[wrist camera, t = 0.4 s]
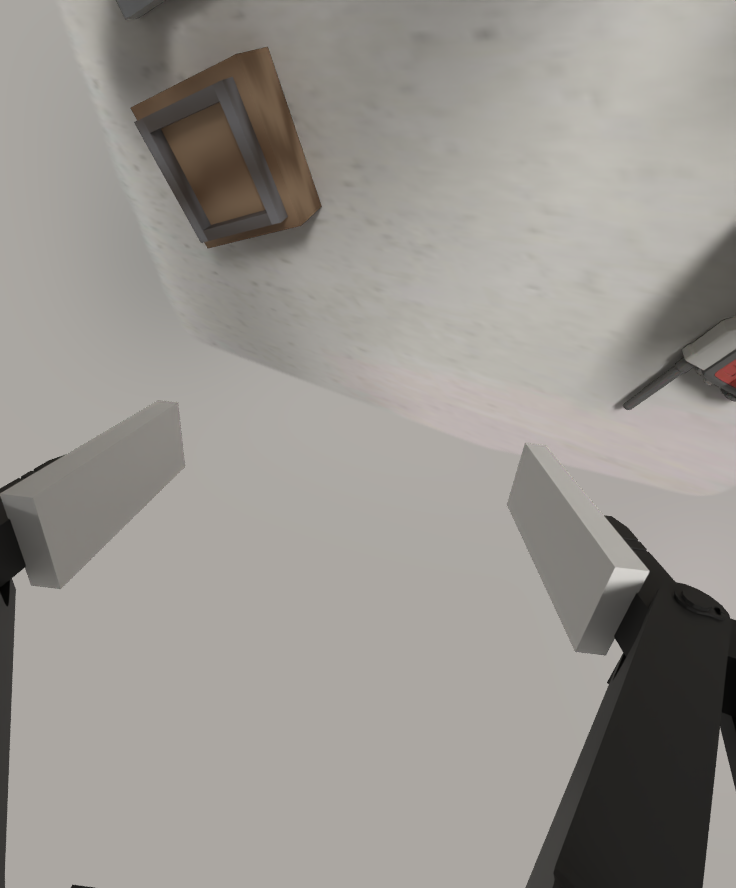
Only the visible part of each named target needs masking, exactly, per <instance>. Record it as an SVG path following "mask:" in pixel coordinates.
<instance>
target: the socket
mask: <svg viewBox="0 0 736 888" xmlns="http://www.w3.org/2000/svg"><path fill="white" fill-rule="evenodd" d="M116 1H117V3H118V5H119V7H120V9H121V11H122V13H123V15H124V17H125V19H136V18H139V17H141V16H142V15H144V14H145V13H147V12H148V11H150V10H151V9H153V8H154V7H156V6H158V5H159V4H161V3H162V2H164V1H165V0H116Z"/></svg>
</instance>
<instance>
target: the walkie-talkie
mask: <svg viewBox="0 0 736 888" xmlns="http://www.w3.org/2000/svg"><path fill="white" fill-rule="evenodd" d="M682 352H683V355H684V358H682V359H681V360H680V361H678V362H677V363H676V364H675V366H674V367H673V368H671V369H670V370H668V371H667V372H666V373H664V374H663V375H662V376H660V377H659V378H657V379H656V380H655V381H653V382H652V383H651V384H649V385H648V386H646V387H645V388H644V389H643V390H642V391H641V392H639V393H638V394H637V395H635V396H634V397H633V398H631V399H630V400H629V401H627V402H626V403H625V404H624V405H623V406H624V408H625V409H626V410H631V409H632V408H634V407H635V406H637V405H638V404H640V403H641V402H642V401H644V400H645V399H647V398H648V397H650V396H651V395H652V394H654V393H655V392H657V391H658V390H660V389H661V388H662V387H664V386H665V385H667V384H668V383H669V382H671V381H672V380H674V379H675V378H677V377H678V376H679V375H681V374H682V373H686V372H688V371H689V370H690V369H692V368H693V367H695V366H696V367H698V368H696V369H695V371H696V372H697V373H698V374H699V375H703V377H704V378H705V379H704V382H705V383H706V384H707V385H709V386H710V385H712V384H714V385H716V386H718V387H720V389H721V392H722V393H723V394H724V395H725V396H726V397H727V398H728V399H730V400H731V401H736V317H732V318H728V319H725V320H723V321H722V322H720V323H719V324H718V325H716V326H715V327H714V328H712V329H711V330H710V331H708V332H707V333H705V334H704V335H703V336H701V337H700V338H699V339H697V340H696V341H695V342H693V343H692V344H689V345H687V346H686V347H685V348H683V349H682Z"/></svg>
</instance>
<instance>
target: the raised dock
mask: <svg viewBox="0 0 736 888" xmlns="http://www.w3.org/2000/svg"><path fill="white" fill-rule="evenodd" d="M131 110H132V112H133V113H134V115H135V117H136V119H137V121H136V122H134V123H135V125H136V126H137V128H138V130H139V132H140V134H141V135H142V137H143V139H144V141H145V143H146V144H147V146H148V148H149V150H150V152H151V153H152V155H153V157H154V159H155V161H156V162H157V164H158V166H159V168H160V170H161V172H162V173H163V175H164V177H165V179H166V181H167V182H168V184H169V186H170V188H171V190H172V191H173V193H174V195H175V197H176V199H177V200H178V202H179V204H180V206H181V208H182V209H183V211H184V213H185V215H186V217H187V218H188V220H189V222H190V224H191V226H192V227H193V229H194V231H195V233H196V235H197V236H198V238H199V240H200V242H201V243H203V242H204V243H205V245H206V246H207V248H212V247H216V246H220V245H224V244H228V243H232V242H236V241H240V240H244V239H248V238H253V237H257V236H261V235H265V234H269V233H273V232H277V231H281V230H285V229H289V228H293V227H297V226H301V225H302V224H303V223H305V222H306V221H307V220H308V219H309V218H310V217H311V216H312V215H313V214H314V213H315V212H316V211H317V210H319V209H320V208H321V207H322V206H321V203H320V200H319V197H318V194H317V191H316V188H315V185H314V182H313V180H312V177H311V174H310V171H309V168H308V165H307V162H306V159H305V156H304V153H303V150H302V147H301V144H300V141H299V138H298V135H297V132H296V129H295V126H294V123H293V120H292V117H291V114H290V111H289V108H288V105H287V102H286V99H285V97H284V94H283V91H282V88H281V85H280V82H279V79H278V76H277V73H276V70H275V67H274V64H273V61H272V58H271V55H270V52H269V49H268V47H265V48H261V49H256V50H252V51H248V52H243V53H239V54H235V55H233V56H231V57H230V58H228V59H226V60H224V61H222V62H220V63H218V64H216V65H214V66H212V67H210V68H208V69H206V70H204V71H202V72H200V73H198V74H196V75H194V76H192V77H190V78H188V79H186V80H184V81H182V82H180V83H178V84H176V85H174V86H172V87H170V88H168V89H166V90H165V91H163V92H161V93H159V94H157V95H155V96H153V97H151V98H149V99H147V100H145V101H143V102H141V103H139V104H137V105H135V106H133V107H131Z"/></svg>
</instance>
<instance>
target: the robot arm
mask: <svg viewBox="0 0 736 888" xmlns="http://www.w3.org/2000/svg"><path fill="white" fill-rule="evenodd" d="M178 406H179V405H178V403H177V402H168V401H160V400H158V401H156V402H154V403H153V404H151V405H149V406H148V407H146V408H144V409H143V410H141V411H139V412H138V413H136V414H134V415H132V416H131V417H129V418H127V419H126V420H124V421H122V422H120V423H119V424H117V425H115V426H114V427H112V428H110V429H109V430H107V431H105V432H104V433H102V434H100V435H98V436H97V437H95V438H93V439H92V440H90V441H88V442H87V443H85V444H83V445H81V446H80V447H78V448H76V449H75V450H73V451H71V452H70V453H68V454H66V455H63V456H61V457H57V458H55V459H52V460H49V461H47V462H46V463H44V464H42V465H40V466H38V467H37V468H35V469H34V471H30V472H28V473H26V474H25V475H23V476H21V479H20V478H18V479H16V480H14V481H13V482H11V483H9V484H7V485H6V486H4V487H2V488H0V888H5V852H6V827H7V825H6V824H7V801H8V800H7V798H8V775H9V750H10V748H9V747H10V722H11V697H12V672H13V647H14V621H15V594H16V589H15V586H14V583H13V580H12V577H14V576H15V575H16V574H17V573H18V572H20V571H21V570H22V569H23V568H25V569H26V572H27V575H28V578H29V580H30V583H31V585H32V586H40V587H48V588H57V589H61V588H62V587H63V586H64V585H65V584H66V583H67V582H68V581H69V580H70V579H71V578H72V577H73V576H74V575H75V574H76V573H77V572H78V571H79V570H81V569H82V567H83V566H85V565H86V564H87V563H88V562H89V561H90V560H91V558H93V557H94V556H95V554H97V553H98V552H99V551H100V550H101V549H102V548H103V547H104V546H105V545H106V544H107V543H108V542H109V541H110V540H111V539H112V538H113V537H114V536H115V535H116V534H117V533H118V532H119V531H120V530H121V529H122V528H123V527H124V526H125V525H126V524H127V523H128V522H129V521H130V520H131V519H132V518H133V517H134V516H135V515H136V514H137V513H138V512H140V510H142V508H144V507H145V506H146V505H147V503H149V501H151V500H152V499H153V498H154V497H155V496H156V495H157V494H158V493H159V492H160V491H161V490H162V489H163V488H164V487H165V486H166V485H167V484H168V483H169V482H170V481H171V480H172V479H173V478H174V477H175V476H176V475H177V474H178V473H179V472H180V471H181V470H182V469H183V468H184V467H185V461H184V452H183V443H182V433H181V425H180V415H179V407H178ZM507 506H508V508H509V510H510V512H511V514H512V516H513V519H514V521H515V523H516V525H517V527H518V530H519V532H520V534H521V536H522V538H523V540H524V542H525V545H526V547H527V549H528V551H529V553H530V555H531V557H532V560H533V562H534V564H535V566H536V568H537V570H538V573H539V575H540V577H541V579H542V581H543V583H544V586H545V588H546V590H547V592H548V594H549V596H550V598H551V600H552V603H553V605H554V607H555V609H556V611H557V614H558V616H559V618H560V620H561V622H562V624H563V626H564V629H565V631H566V633H567V635H568V637H569V639H570V642H571V644H572V646H573V648H574V650H575V652H582V653H590V654H598V655H606V654H607V652H608V650H609V648H610V646H611V644H612V642H613V641H614V639H616V641H617V642H618V644H619V646H620V647H621V649H622V651H623V654H622V656H621V658H620V660H619V662H618V663H617V665H616V667H615V669H614V671H613V673H612V675H611V676H610V678H609V680H608V682H607V683H608V684H609V686H608V688H607V691H606V693H605V696H604V698H603V700H602V703H601V705H600V708H599V710H598V713H597V715H596V717H595V720H594V722H593V725H592V727H591V730H590V732H589V735H588V737H587V739H586V742H585V744H584V747H583V749H582V751H581V754H580V756H579V759H578V761H577V764H576V766H575V768H574V771H573V773H572V776H571V778H570V781H569V783H568V786H567V788H566V791H565V793H564V795H563V798H562V800H561V803H560V805H559V808H558V810H557V812H556V815H555V817H554V820H553V822H552V825H551V827H550V830H549V832H548V834H547V837H546V839H545V842H544V844H543V846H542V849H541V851H540V854H539V856H538V859H537V861H536V863H535V866H534V868H533V871H532V873H531V876H530V878H529V880H528V883H527V885H526V888H702V887H703V878H704V869H705V860H706V850H707V841H708V831H709V823H710V813H711V804H712V795H713V786H714V777H715V767H716V758H717V749H718V740H719V730H720V728H721V732H722V736H723V740H724V744H725V748H726V752H727V756H728V761H729V765H730V768H731V772H732V777H733V781H734V785H735V789H736V620H733V619H730V616H729V614H728V612H727V611H726V610H725V609H724V608H723V606H722V605H720V604H719V603H718V602H717V601H716V600H714V599H713V598H712V597H710V596H709V595H707V594H705V593H703V592H702V591H700V590H698V589H696V588H694V587H691V586H688V585H686V584H682V583H677V582H675V581H674V580H673V579H672V578H671V577H670V575H669V574H668V573H667V572H666V571H665V570H664V568H663V567H662V566H661V565H660V564H659V563H658V562H657V561H656V559H655V558H654V557H653V556H652V555H651V554H650V553H649V552H647V551H646V548H645V547H644V546H643V545H642V543H641V542H638V539H637V538H636V537H635V536H634V534H633V533H632V532H631V531H630V530H629V529H628V528H627V527H626V526H625V525H623V524H622V523H620V522H619V521H618V520H616V519H615V518H613V517H612V516H605V515H603V514H602V513H601V512H600V510H599V509H598V508H597V507H596V506H595V504H594V503H593V502H592V501H591V500H590V498H589V497H588V496H587V495H586V493H585V492H584V491H583V490H582V489H581V487H580V486H579V485H578V484H577V483H576V482H575V480H574V479H573V478H572V477H571V475H570V474H569V473H568V472H567V470H566V469H565V468H564V467H563V466H562V464H561V463H560V462H559V461H558V460H557V458H556V457H555V456H554V455H553V454H552V452H551V451H550V450H549V449H548V447H547V446H546V445H540V444H531V443H525V445H524V448H523V452H522V455H521V459H520V462H519V465H518V469H517V472H516V475H515V479H514V482H513V486H512V489H511V492H510V496H509V499H508V502H507ZM71 888H93V887H85V886H78V885H72V887H71Z"/></svg>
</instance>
